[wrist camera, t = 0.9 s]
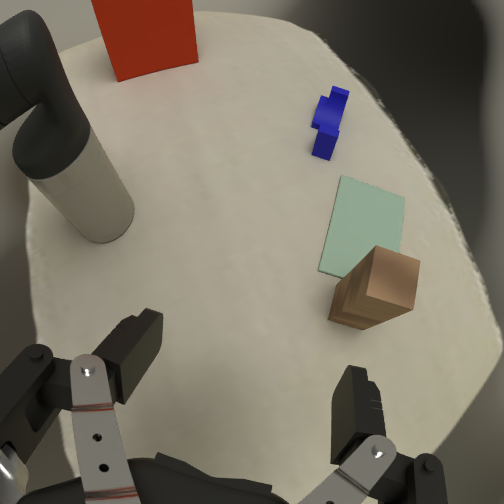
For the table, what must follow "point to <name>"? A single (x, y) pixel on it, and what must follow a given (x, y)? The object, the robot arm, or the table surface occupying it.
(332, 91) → the blue cradle block
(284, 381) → the table surface
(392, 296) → the walnut block
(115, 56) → the file binder
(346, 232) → the sage mat
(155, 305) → the table surface
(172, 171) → the table surface
